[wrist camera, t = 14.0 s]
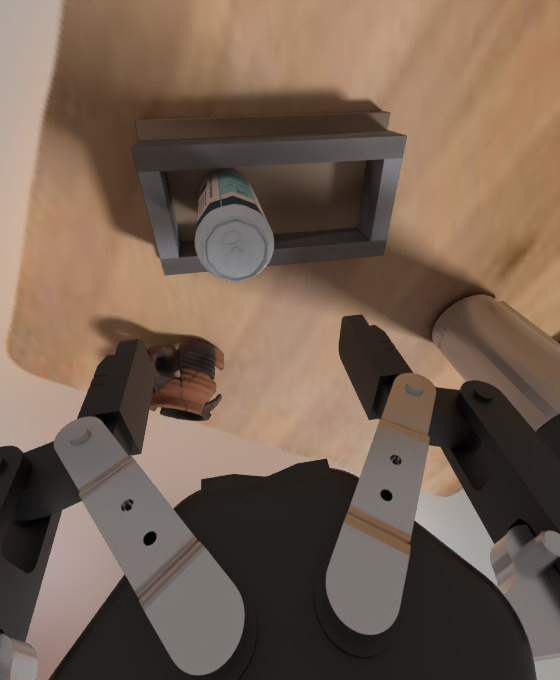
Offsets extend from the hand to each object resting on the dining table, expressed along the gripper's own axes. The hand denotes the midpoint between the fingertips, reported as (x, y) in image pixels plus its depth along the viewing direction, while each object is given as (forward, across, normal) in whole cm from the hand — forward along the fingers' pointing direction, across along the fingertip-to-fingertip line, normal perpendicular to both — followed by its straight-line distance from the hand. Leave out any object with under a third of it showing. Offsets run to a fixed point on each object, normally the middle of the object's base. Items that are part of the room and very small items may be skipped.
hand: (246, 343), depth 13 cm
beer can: (+20, 0, 0) cm, 20 cm away
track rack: (+21, -4, 0) cm, 22 cm away
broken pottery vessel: (+22, +7, +17) cm, 29 cm away
